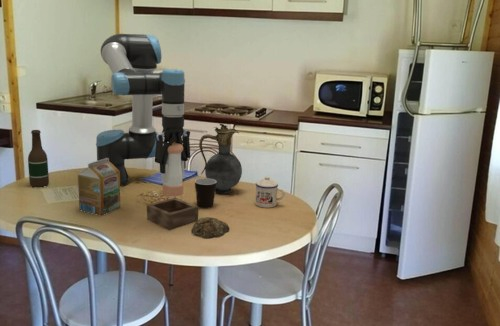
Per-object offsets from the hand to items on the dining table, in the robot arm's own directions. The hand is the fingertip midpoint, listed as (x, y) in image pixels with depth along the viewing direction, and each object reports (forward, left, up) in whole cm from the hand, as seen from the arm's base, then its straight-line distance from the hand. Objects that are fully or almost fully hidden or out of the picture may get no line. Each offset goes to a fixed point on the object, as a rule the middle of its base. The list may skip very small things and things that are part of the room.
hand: (172, 179), depth 170 cm
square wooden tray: (0, 0, -15) cm, 15 cm away
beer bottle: (-69, -17, -16) cm, 73 cm away
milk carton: (-27, -13, -16) cm, 34 cm away
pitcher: (-14, +37, -16) cm, 43 cm away
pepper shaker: (0, 0, -5) cm, 5 cm away
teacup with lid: (+12, +40, -16) cm, 45 cm away
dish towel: (-43, +33, -16) cm, 57 cm away
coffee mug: (-5, +21, -16) cm, 27 cm away
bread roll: (+16, +3, -16) cm, 23 cm away
